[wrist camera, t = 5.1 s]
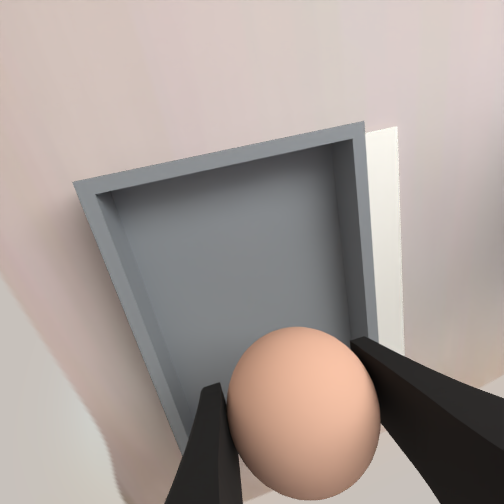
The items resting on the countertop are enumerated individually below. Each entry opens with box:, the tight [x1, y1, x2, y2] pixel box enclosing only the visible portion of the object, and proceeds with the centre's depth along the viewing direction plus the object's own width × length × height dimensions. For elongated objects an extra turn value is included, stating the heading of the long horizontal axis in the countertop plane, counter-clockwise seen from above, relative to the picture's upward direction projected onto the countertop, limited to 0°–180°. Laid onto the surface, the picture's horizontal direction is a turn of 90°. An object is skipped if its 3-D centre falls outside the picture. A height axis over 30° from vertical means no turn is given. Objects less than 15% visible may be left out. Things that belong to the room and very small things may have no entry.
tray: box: [73, 121, 379, 456], centre depth 15 cm, size 12×16×3 cm
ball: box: [227, 327, 381, 500], centre depth 10 cm, size 5×5×5 cm
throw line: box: [365, 126, 405, 356], centre depth 17 cm, size 2×16×1 cm, turn 12°
